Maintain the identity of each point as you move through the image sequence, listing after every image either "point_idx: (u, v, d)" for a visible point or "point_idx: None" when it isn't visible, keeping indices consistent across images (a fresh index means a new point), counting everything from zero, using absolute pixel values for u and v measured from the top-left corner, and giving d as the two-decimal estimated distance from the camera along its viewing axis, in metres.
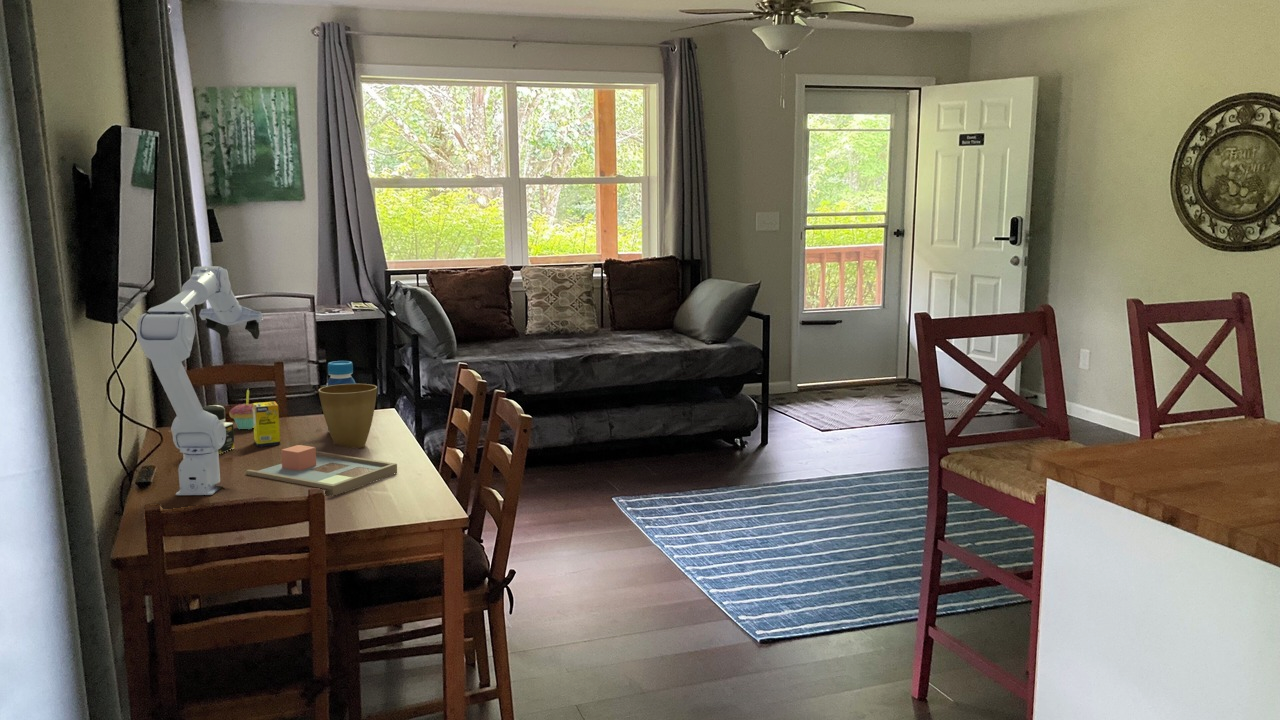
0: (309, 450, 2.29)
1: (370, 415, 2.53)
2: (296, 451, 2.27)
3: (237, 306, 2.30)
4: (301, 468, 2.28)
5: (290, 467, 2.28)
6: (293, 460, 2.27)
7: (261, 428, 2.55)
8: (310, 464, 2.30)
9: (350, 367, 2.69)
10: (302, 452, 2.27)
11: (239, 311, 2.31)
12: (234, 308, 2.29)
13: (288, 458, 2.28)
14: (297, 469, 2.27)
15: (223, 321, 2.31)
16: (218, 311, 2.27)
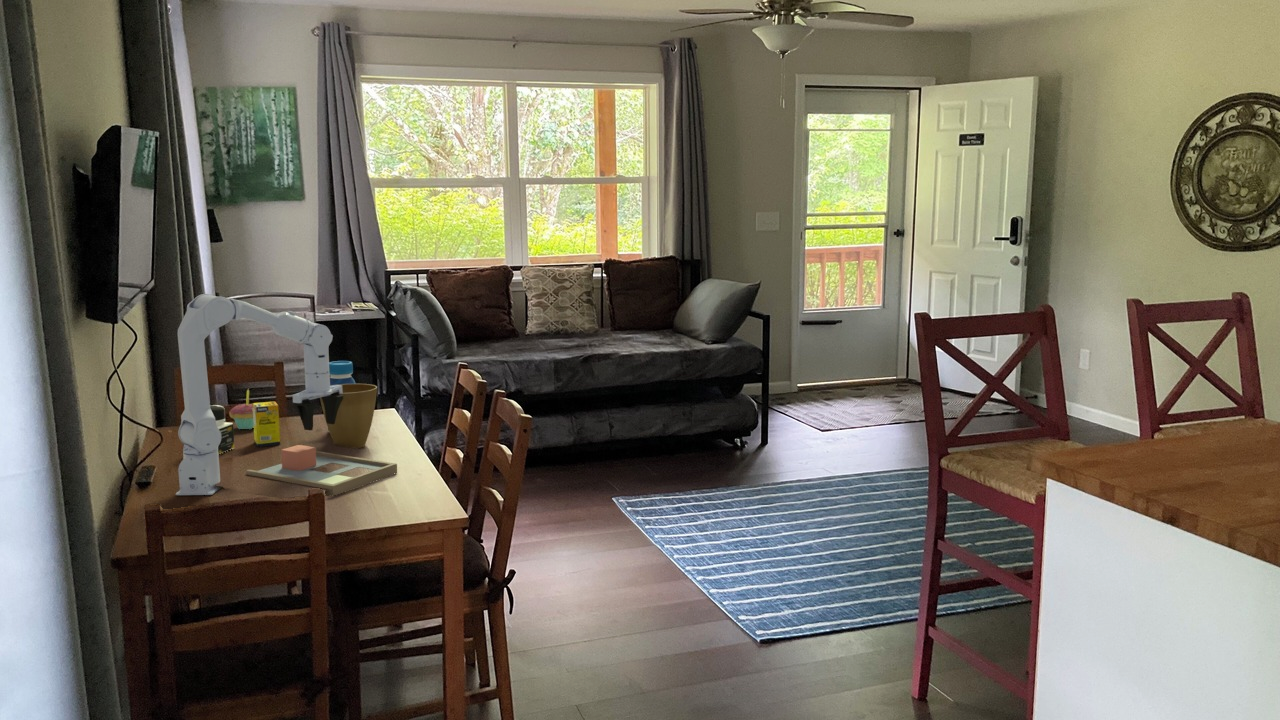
0: (309, 450, 2.29)
1: (370, 415, 2.53)
2: (296, 451, 2.27)
3: (308, 379, 2.31)
4: (301, 468, 2.28)
5: (290, 467, 2.28)
6: (293, 460, 2.27)
7: (261, 428, 2.55)
8: (310, 464, 2.30)
9: (350, 367, 2.69)
10: (302, 452, 2.27)
11: (307, 385, 2.32)
12: (305, 376, 2.32)
13: (288, 458, 2.28)
14: (297, 469, 2.27)
15: None
16: None
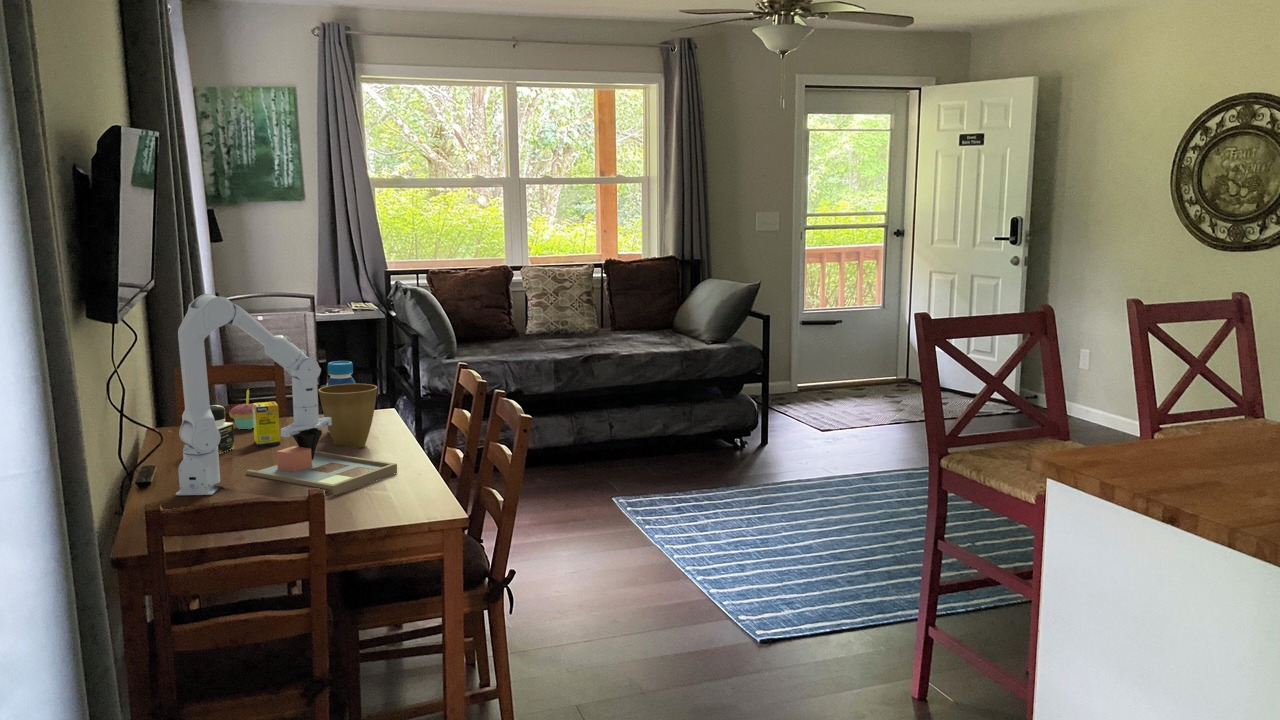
0: (305, 451, 2.28)
1: (370, 415, 2.53)
2: (292, 452, 2.26)
3: (296, 412, 2.29)
4: (297, 469, 2.26)
5: (285, 468, 2.27)
6: (288, 461, 2.26)
7: (261, 428, 2.55)
8: (306, 465, 2.29)
9: (350, 367, 2.69)
10: (298, 453, 2.26)
11: (296, 419, 2.29)
12: (294, 409, 2.29)
13: (284, 459, 2.27)
14: (293, 470, 2.26)
15: None
16: None
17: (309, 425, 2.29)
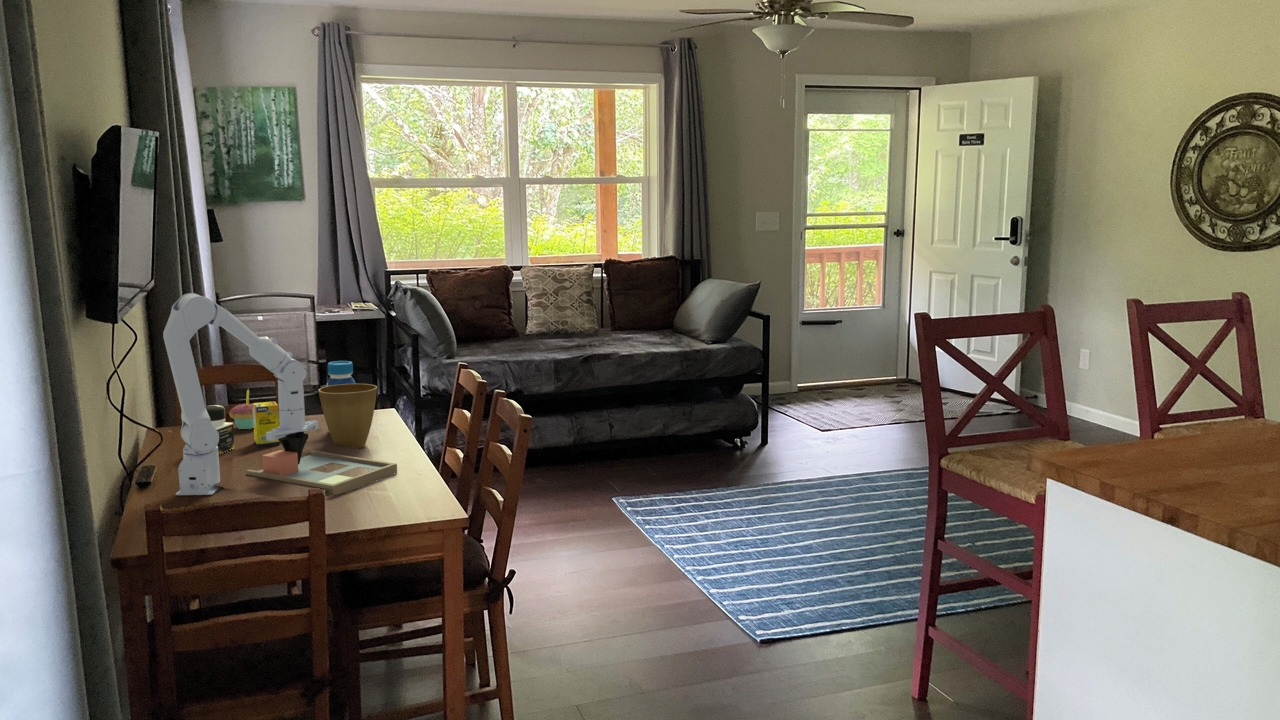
0: (291, 456, 2.24)
1: (369, 415, 2.53)
2: (277, 457, 2.22)
3: (282, 416, 2.25)
4: (282, 474, 2.22)
5: None
6: (274, 466, 2.22)
7: (261, 428, 2.55)
8: (292, 469, 2.25)
9: (350, 367, 2.69)
10: (283, 458, 2.22)
11: (282, 422, 2.25)
12: (279, 413, 2.25)
13: (270, 464, 2.23)
14: None
15: None
16: None
17: (295, 429, 2.25)
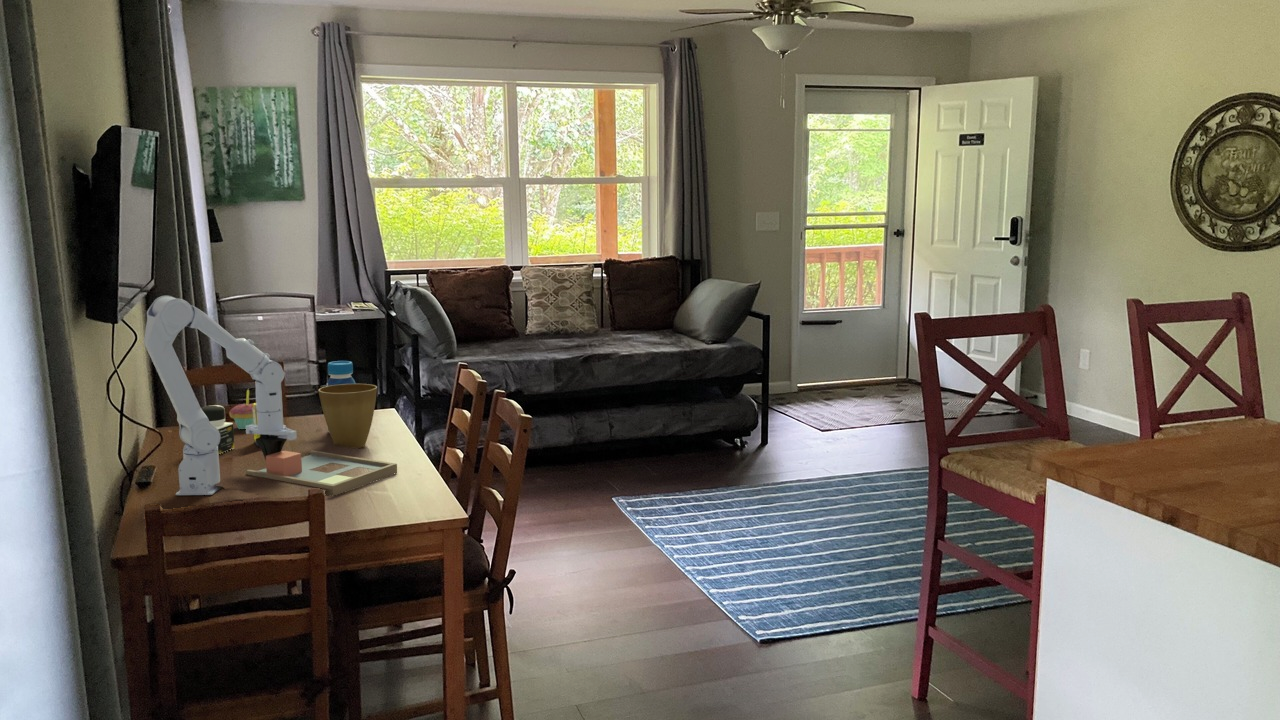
0: (294, 456, 2.24)
1: (369, 415, 2.53)
2: (281, 457, 2.22)
3: (278, 416, 2.24)
4: (286, 475, 2.22)
5: None
6: (278, 466, 2.22)
7: None
8: (296, 470, 2.24)
9: (350, 367, 2.69)
10: (287, 458, 2.22)
11: (277, 423, 2.24)
12: (274, 415, 2.23)
13: (273, 464, 2.22)
14: None
15: (259, 428, 2.24)
16: (258, 411, 2.23)
17: (283, 426, 2.27)
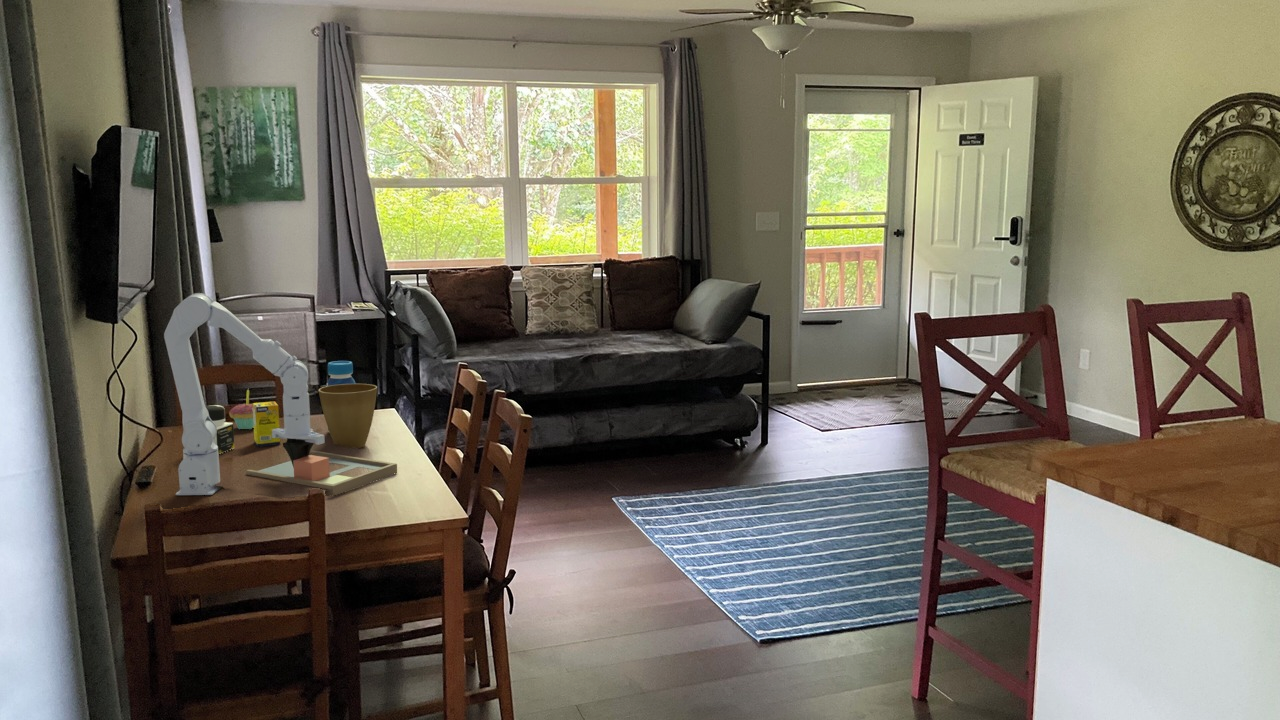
0: (322, 461, 2.20)
1: (370, 415, 2.53)
2: (309, 462, 2.18)
3: (306, 420, 2.20)
4: (314, 479, 2.18)
5: (303, 478, 2.19)
6: (306, 471, 2.18)
7: (261, 428, 2.55)
8: (323, 475, 2.21)
9: (350, 367, 2.69)
10: (315, 463, 2.18)
11: (305, 427, 2.20)
12: (301, 418, 2.19)
13: (301, 469, 2.18)
14: None
15: (286, 432, 2.20)
16: (286, 415, 2.19)
17: (310, 430, 2.23)
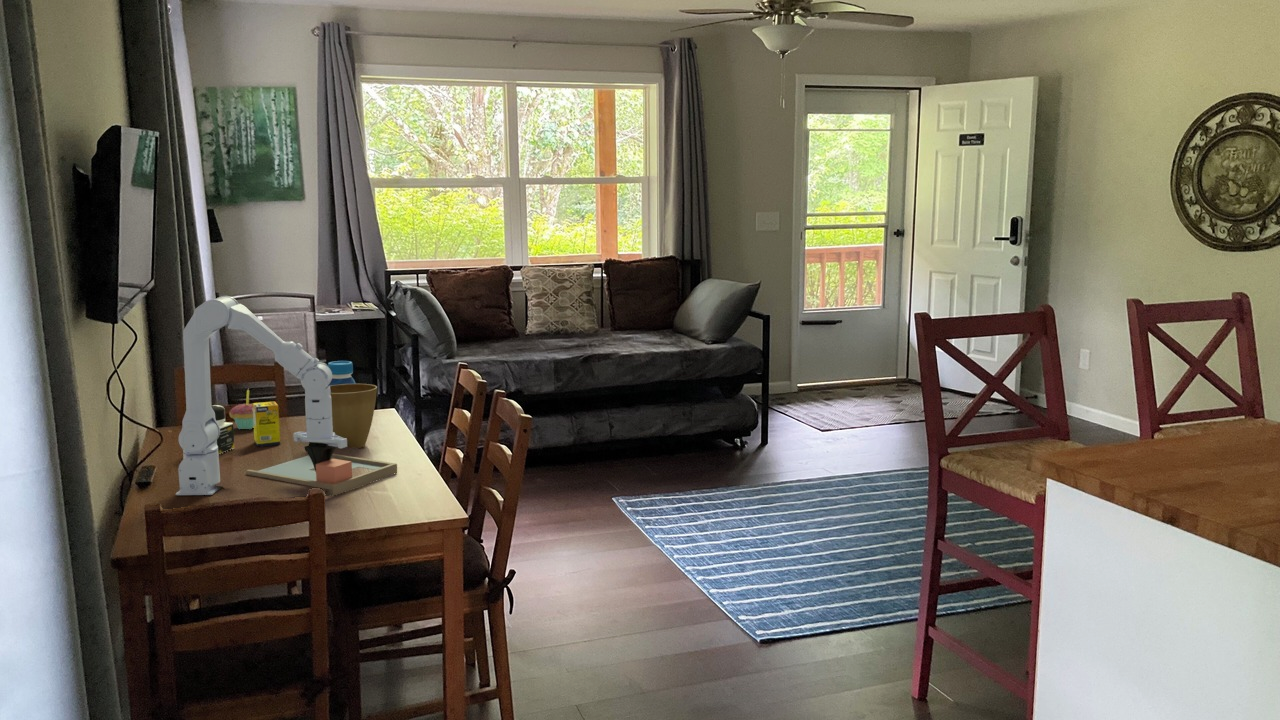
0: (345, 464, 2.17)
1: (369, 415, 2.53)
2: (332, 466, 2.15)
3: (328, 424, 2.17)
4: None
5: None
6: (328, 475, 2.15)
7: (261, 428, 2.55)
8: (346, 479, 2.18)
9: (350, 367, 2.69)
10: (338, 467, 2.15)
11: (327, 431, 2.17)
12: (324, 422, 2.16)
13: (324, 473, 2.15)
14: None
15: (308, 436, 2.17)
16: (308, 418, 2.16)
17: (333, 434, 2.20)
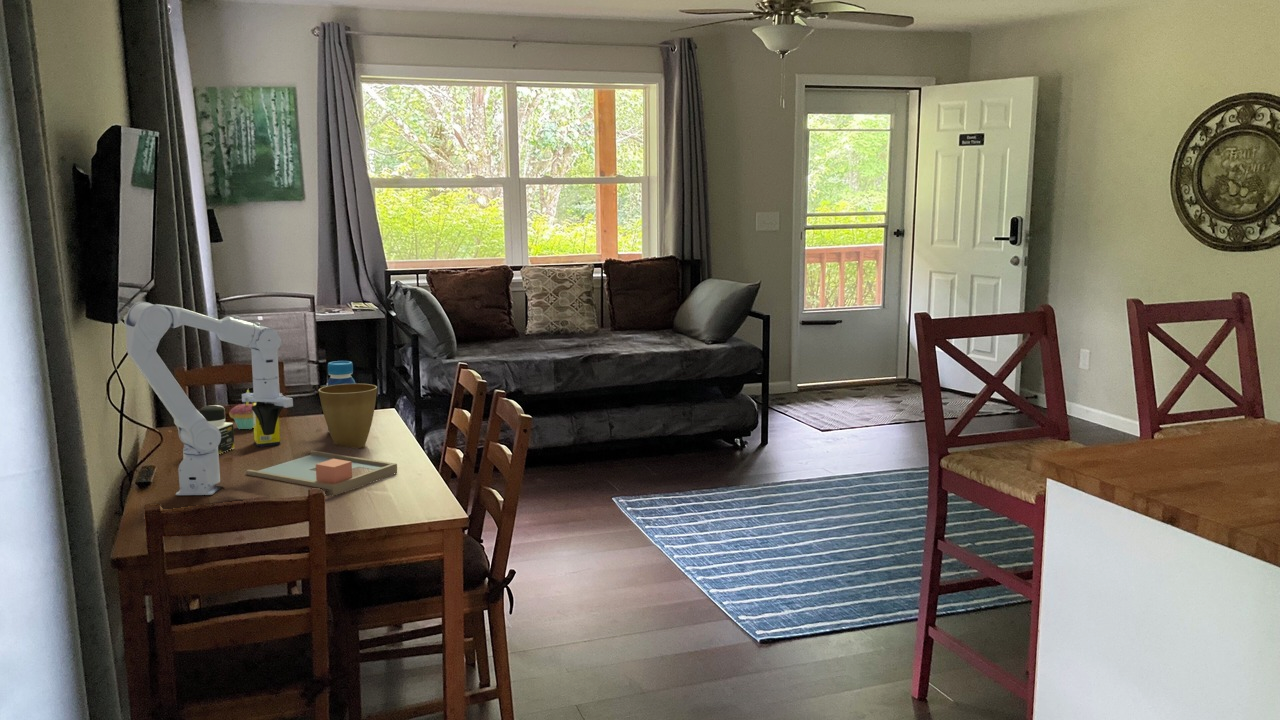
0: (345, 464, 2.17)
1: (370, 415, 2.53)
2: (332, 466, 2.15)
3: (274, 384, 2.23)
4: None
5: None
6: (328, 475, 2.15)
7: (261, 428, 2.55)
8: (346, 479, 2.18)
9: (350, 367, 2.69)
10: (338, 467, 2.15)
11: (274, 391, 2.23)
12: (270, 382, 2.22)
13: (324, 473, 2.15)
14: None
15: (255, 395, 2.23)
16: (254, 378, 2.22)
17: (280, 394, 2.26)
